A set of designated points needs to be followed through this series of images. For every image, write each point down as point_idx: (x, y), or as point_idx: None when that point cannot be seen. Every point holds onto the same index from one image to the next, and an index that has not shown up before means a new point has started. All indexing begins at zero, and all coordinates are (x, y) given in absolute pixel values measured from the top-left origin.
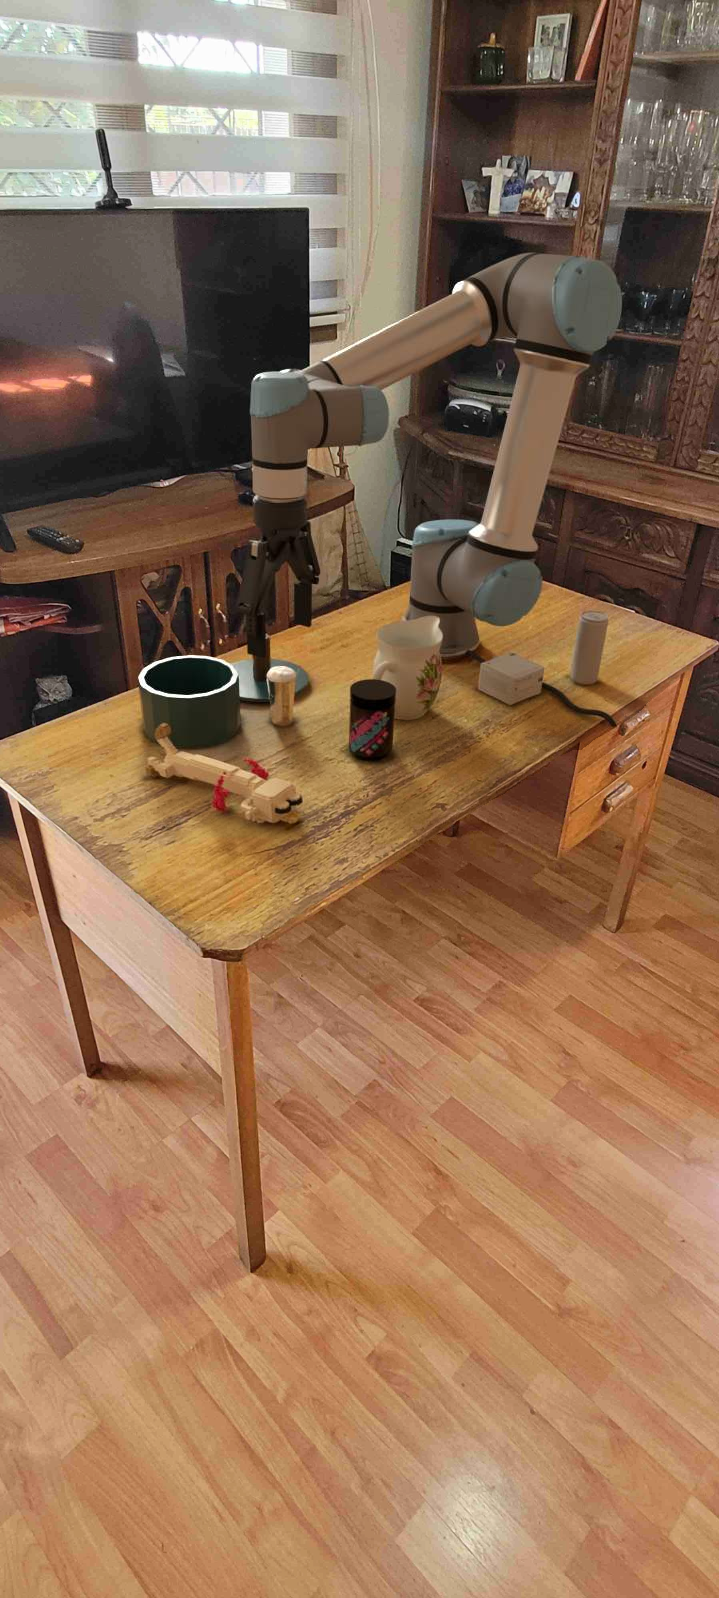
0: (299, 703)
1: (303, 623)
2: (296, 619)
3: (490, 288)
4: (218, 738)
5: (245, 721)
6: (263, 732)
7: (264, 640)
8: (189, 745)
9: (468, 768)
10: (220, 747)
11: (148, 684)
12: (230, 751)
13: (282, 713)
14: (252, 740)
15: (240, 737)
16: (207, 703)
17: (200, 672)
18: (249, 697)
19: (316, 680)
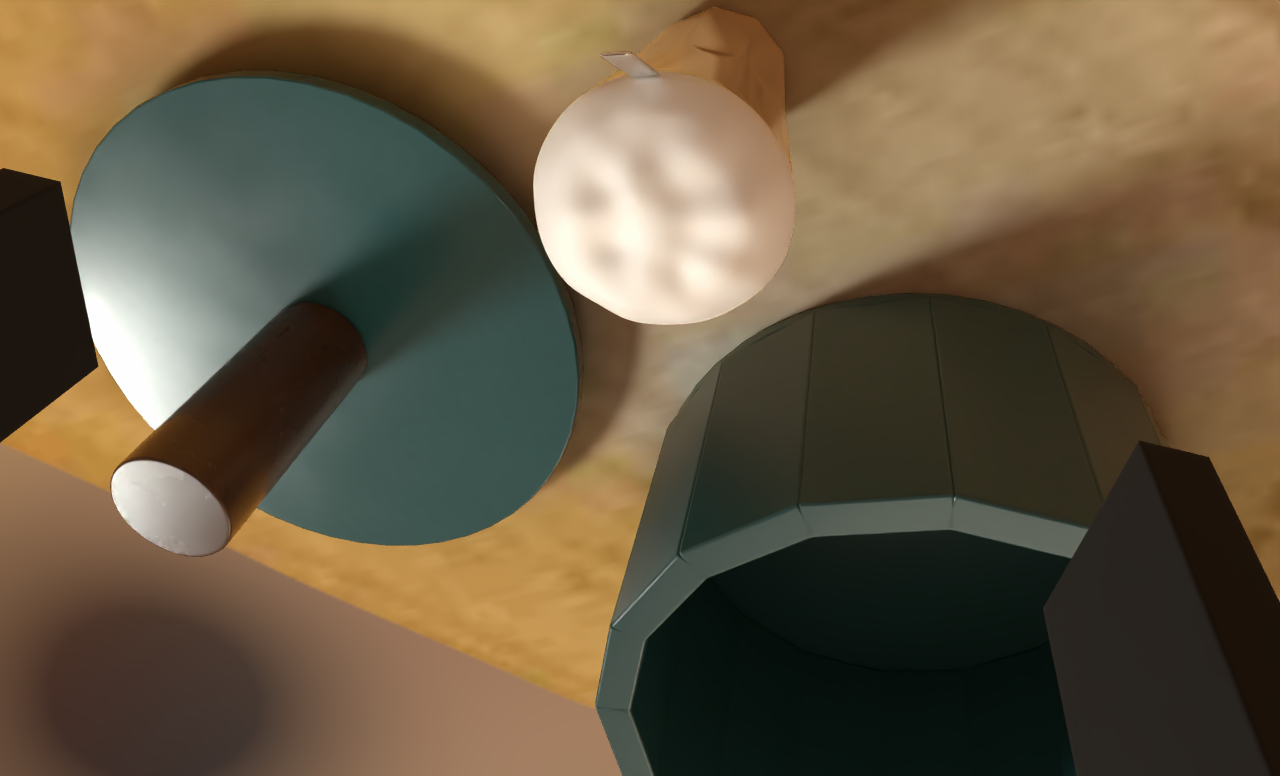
0: (446, 49)
1: (53, 269)
2: (51, 369)
3: None
4: (1097, 362)
5: (783, 285)
6: (894, 145)
7: (1252, 618)
8: None
9: None
10: (1134, 323)
11: None
12: (1181, 258)
13: (783, 77)
14: (1015, 177)
15: (988, 255)
16: None
17: (659, 660)
18: (569, 342)
19: (122, 45)
